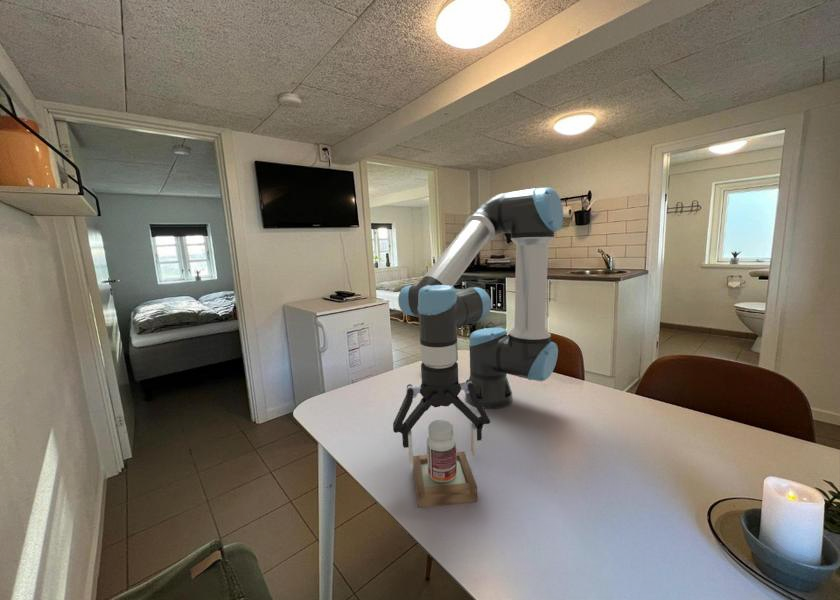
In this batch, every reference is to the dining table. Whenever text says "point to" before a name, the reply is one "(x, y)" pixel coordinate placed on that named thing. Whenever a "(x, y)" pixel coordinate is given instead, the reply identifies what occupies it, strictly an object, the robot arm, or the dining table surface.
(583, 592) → the dining table surface
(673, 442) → the dining table surface
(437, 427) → the pill bottle
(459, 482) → the holder
